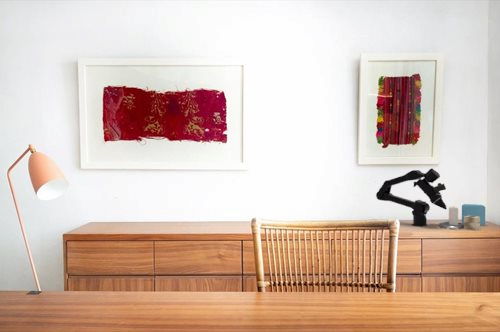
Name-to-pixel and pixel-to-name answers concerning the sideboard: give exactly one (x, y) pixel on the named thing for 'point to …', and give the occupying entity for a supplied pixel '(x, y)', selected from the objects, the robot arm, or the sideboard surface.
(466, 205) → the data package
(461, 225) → the tray
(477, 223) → the birch block
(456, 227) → the cylinder
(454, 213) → the cream block
